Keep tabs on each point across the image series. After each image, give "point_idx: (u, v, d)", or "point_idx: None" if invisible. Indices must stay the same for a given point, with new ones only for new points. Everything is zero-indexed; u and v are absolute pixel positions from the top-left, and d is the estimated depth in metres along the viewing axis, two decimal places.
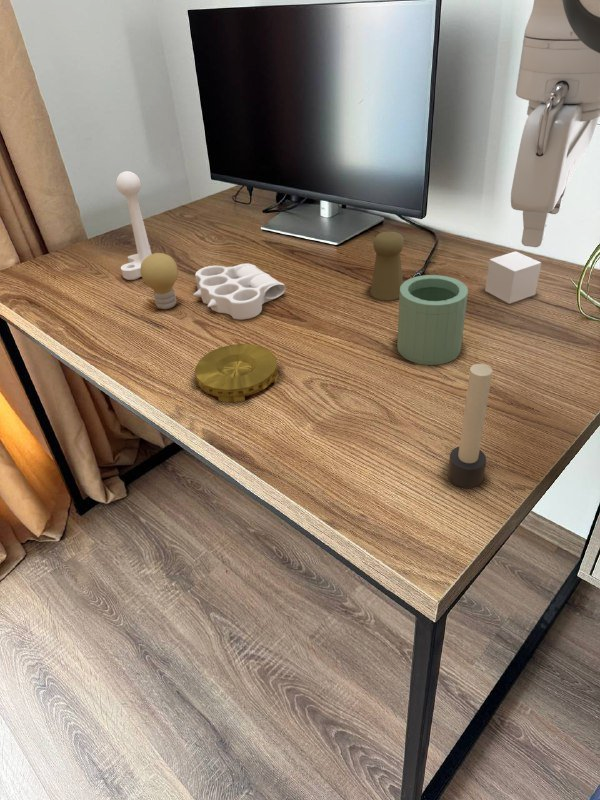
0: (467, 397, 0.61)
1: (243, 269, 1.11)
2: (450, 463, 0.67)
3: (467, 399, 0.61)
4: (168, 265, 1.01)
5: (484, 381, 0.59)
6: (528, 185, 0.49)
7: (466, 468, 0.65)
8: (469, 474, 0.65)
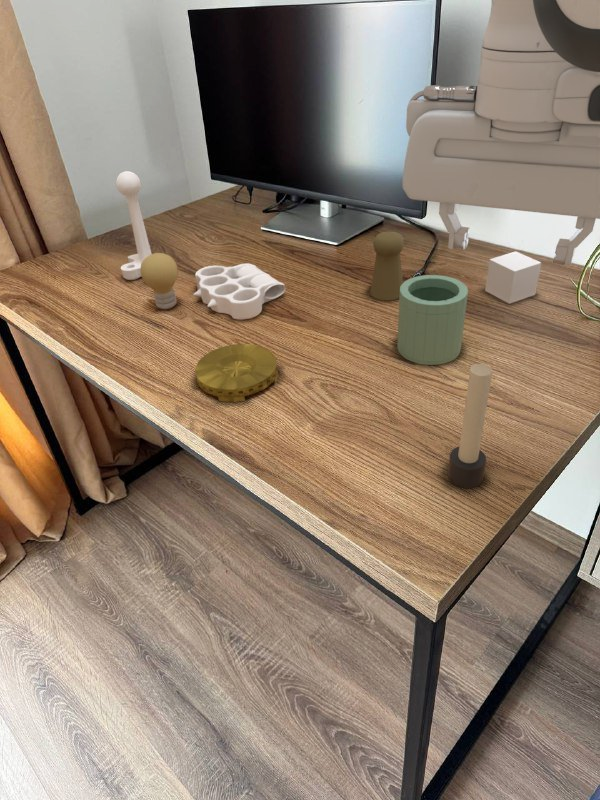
0: (467, 397, 0.61)
1: (243, 269, 1.11)
2: (450, 463, 0.67)
3: (467, 399, 0.61)
4: (168, 265, 1.01)
5: (484, 381, 0.59)
6: None
7: (466, 468, 0.65)
8: (469, 474, 0.65)
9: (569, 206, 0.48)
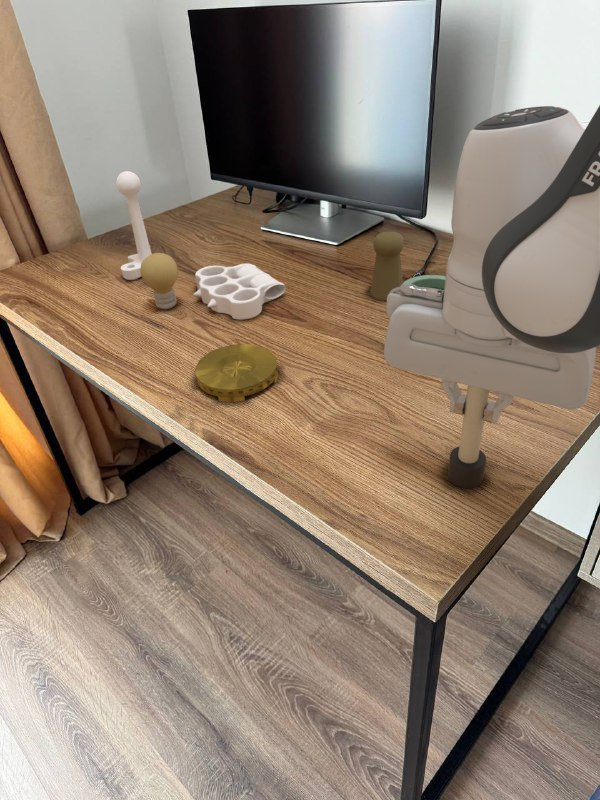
0: (467, 397, 0.61)
1: (243, 269, 1.11)
2: (450, 463, 0.67)
3: (467, 399, 0.61)
4: (168, 265, 1.01)
5: None
6: None
7: (466, 468, 0.65)
8: (469, 474, 0.65)
9: (521, 392, 0.56)
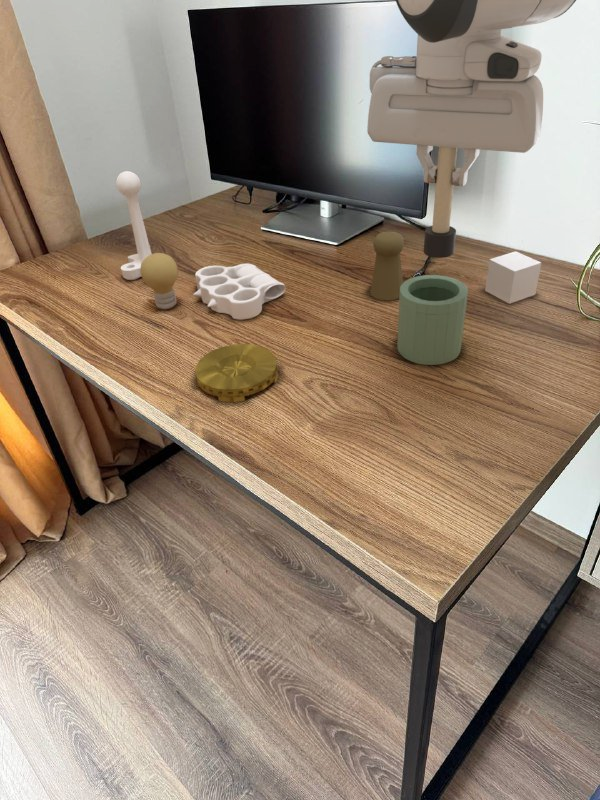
0: (438, 162, 0.72)
1: (243, 269, 1.11)
2: (425, 236, 0.77)
3: (438, 164, 0.72)
4: (168, 265, 1.01)
5: None
6: None
7: (438, 236, 0.76)
8: (441, 241, 0.76)
9: (482, 142, 0.67)
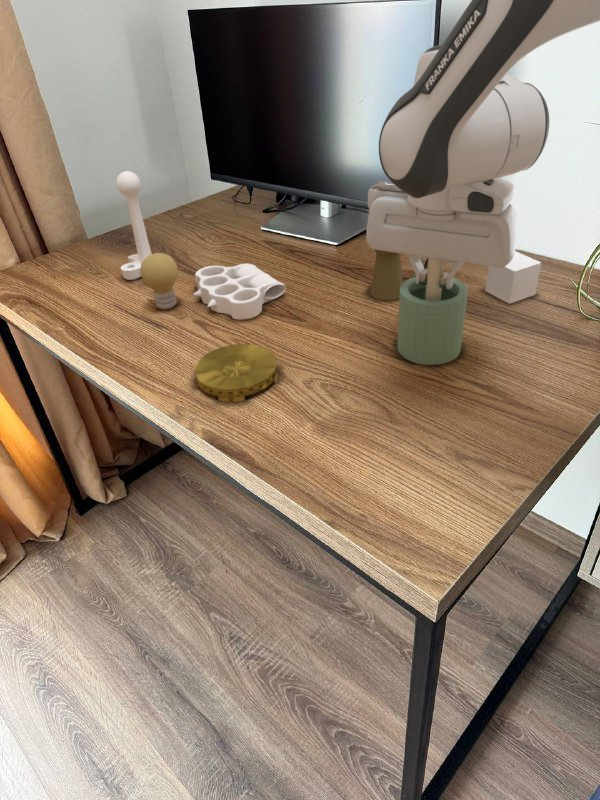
0: (428, 269, 0.82)
1: (243, 269, 1.11)
2: None
3: (428, 270, 0.82)
4: (168, 265, 1.01)
5: None
6: None
7: None
8: None
9: (465, 257, 0.77)
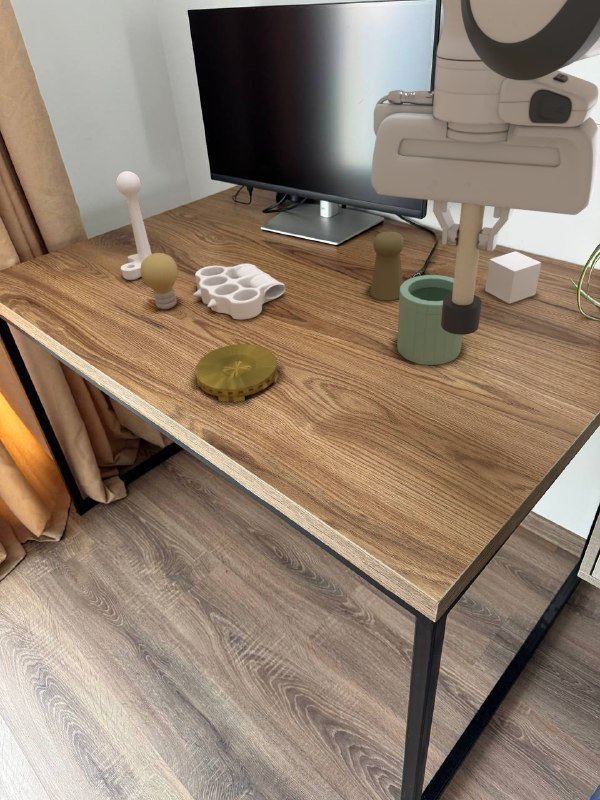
0: (460, 222, 0.57)
1: (243, 269, 1.11)
2: (443, 308, 0.62)
3: (460, 224, 0.57)
4: (168, 265, 1.01)
5: None
6: None
7: (460, 309, 0.61)
8: (464, 316, 0.61)
9: (519, 200, 0.52)
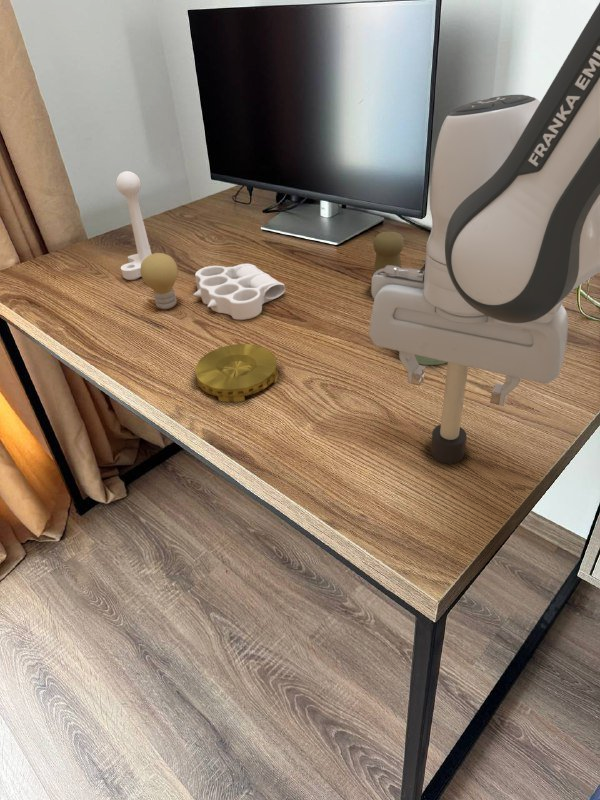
0: (447, 375, 0.65)
1: (243, 269, 1.11)
2: (432, 440, 0.70)
3: (447, 377, 0.65)
4: (168, 265, 1.01)
5: None
6: None
7: (447, 444, 0.68)
8: (450, 450, 0.69)
9: (498, 367, 0.60)
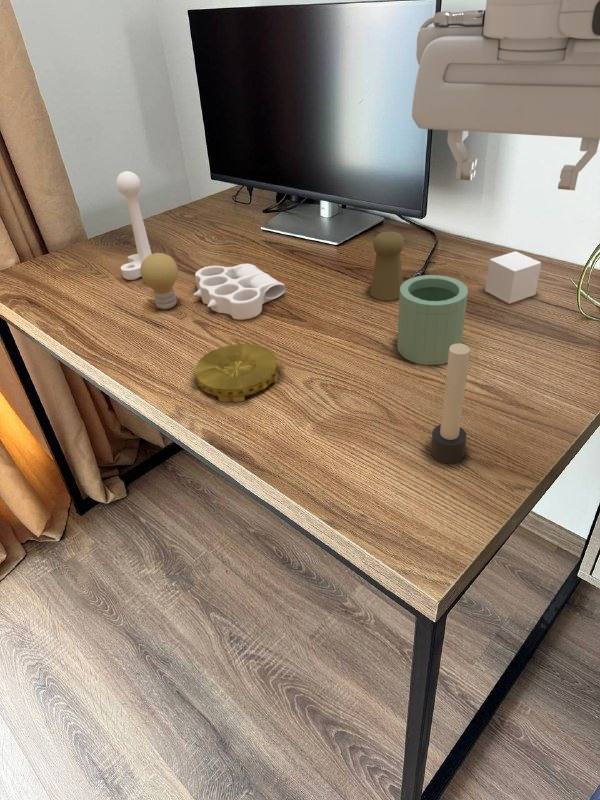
0: (447, 375, 0.65)
1: (243, 269, 1.11)
2: (432, 440, 0.70)
3: (447, 377, 0.65)
4: (168, 265, 1.01)
5: (462, 359, 0.62)
6: None
7: (447, 444, 0.68)
8: (450, 450, 0.69)
9: (574, 127, 0.49)
